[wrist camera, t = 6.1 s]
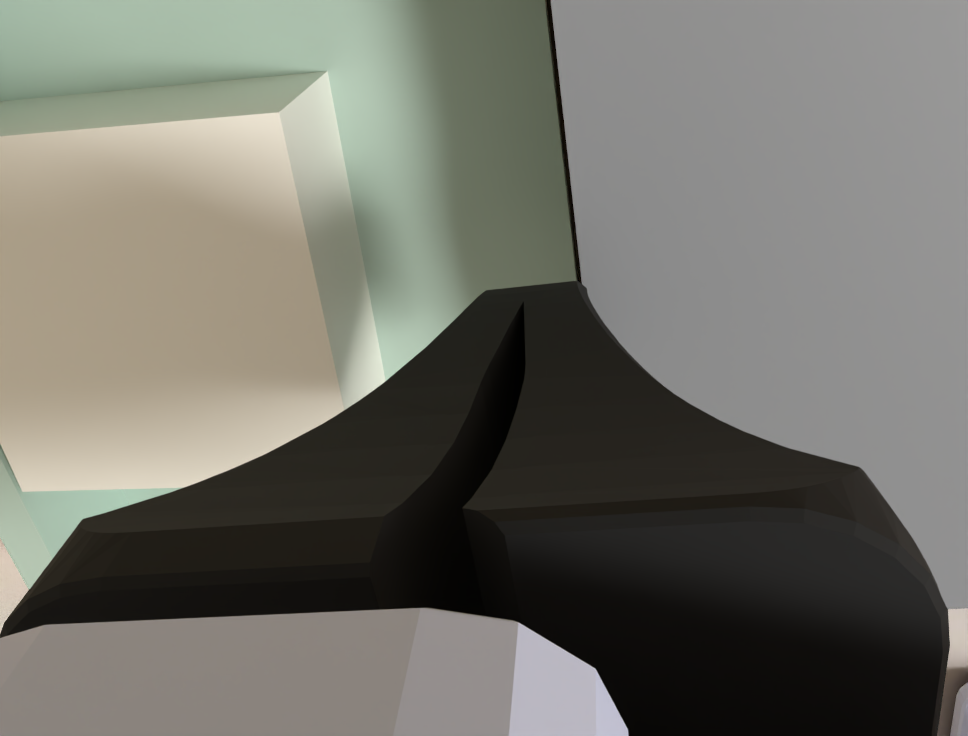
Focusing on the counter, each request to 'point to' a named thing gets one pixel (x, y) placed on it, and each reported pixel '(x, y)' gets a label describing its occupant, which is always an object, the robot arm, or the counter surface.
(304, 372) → the tile
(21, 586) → the counter surface
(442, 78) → the bin
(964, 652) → the counter surface
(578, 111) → the bench plate
